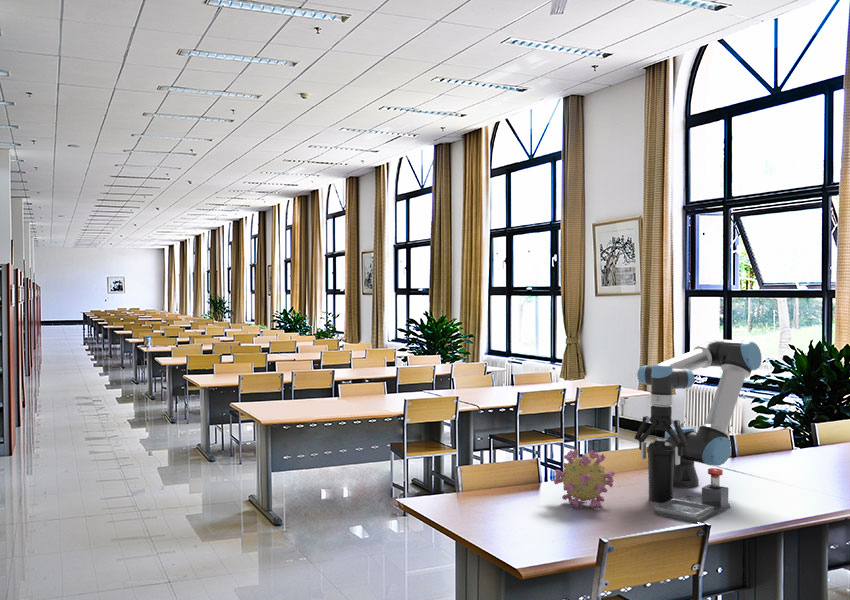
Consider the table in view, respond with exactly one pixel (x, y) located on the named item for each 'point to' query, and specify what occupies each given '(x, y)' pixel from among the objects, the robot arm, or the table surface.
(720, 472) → the pin
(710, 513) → the press
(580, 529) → the table surface
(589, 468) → the educational model
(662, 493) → the water bottle
